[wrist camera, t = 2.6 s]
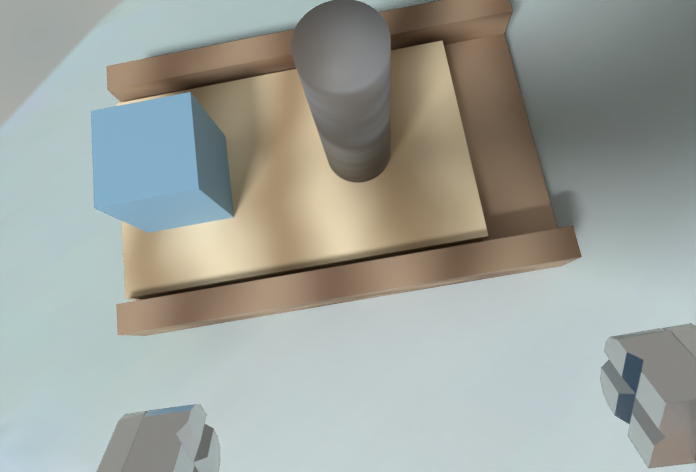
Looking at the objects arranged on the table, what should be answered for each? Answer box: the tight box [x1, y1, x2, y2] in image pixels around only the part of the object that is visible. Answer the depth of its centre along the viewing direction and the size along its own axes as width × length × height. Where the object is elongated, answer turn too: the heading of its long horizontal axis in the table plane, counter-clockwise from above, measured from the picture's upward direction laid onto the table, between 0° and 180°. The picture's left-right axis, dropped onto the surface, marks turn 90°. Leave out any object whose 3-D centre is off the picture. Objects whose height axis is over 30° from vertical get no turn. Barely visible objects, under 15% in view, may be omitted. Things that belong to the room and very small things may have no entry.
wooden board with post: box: [116, 0, 488, 300], centre depth 23 cm, size 20×12×11 cm, turn 99°
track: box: [107, 0, 582, 336], centre depth 27 cm, size 24×16×3 cm, turn 99°
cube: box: [91, 92, 234, 233], centre depth 25 cm, size 5×5×5 cm
